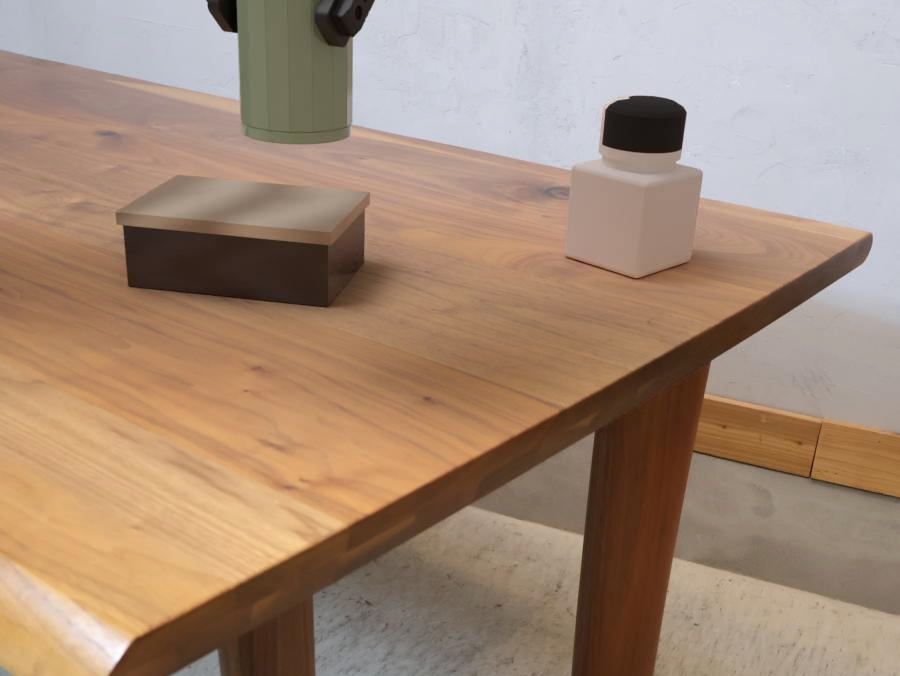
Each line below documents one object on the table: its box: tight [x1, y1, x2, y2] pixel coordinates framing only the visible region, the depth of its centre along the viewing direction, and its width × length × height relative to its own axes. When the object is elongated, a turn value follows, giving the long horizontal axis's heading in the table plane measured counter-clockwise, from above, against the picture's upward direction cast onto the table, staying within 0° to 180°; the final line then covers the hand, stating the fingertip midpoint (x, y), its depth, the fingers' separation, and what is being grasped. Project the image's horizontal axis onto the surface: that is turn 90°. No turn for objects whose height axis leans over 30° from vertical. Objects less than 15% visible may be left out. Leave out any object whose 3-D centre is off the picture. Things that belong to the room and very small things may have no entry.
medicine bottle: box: [563, 94, 704, 279], centre depth 86 cm, size 7×7×12 cm
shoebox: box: [115, 174, 371, 308], centre depth 80 cm, size 15×11×5 cm
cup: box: [236, 0, 354, 145], centre depth 57 cm, size 6×6×9 cm
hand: (274, 27), depth 55 cm, fingers closed on cup, 5 cm apart
